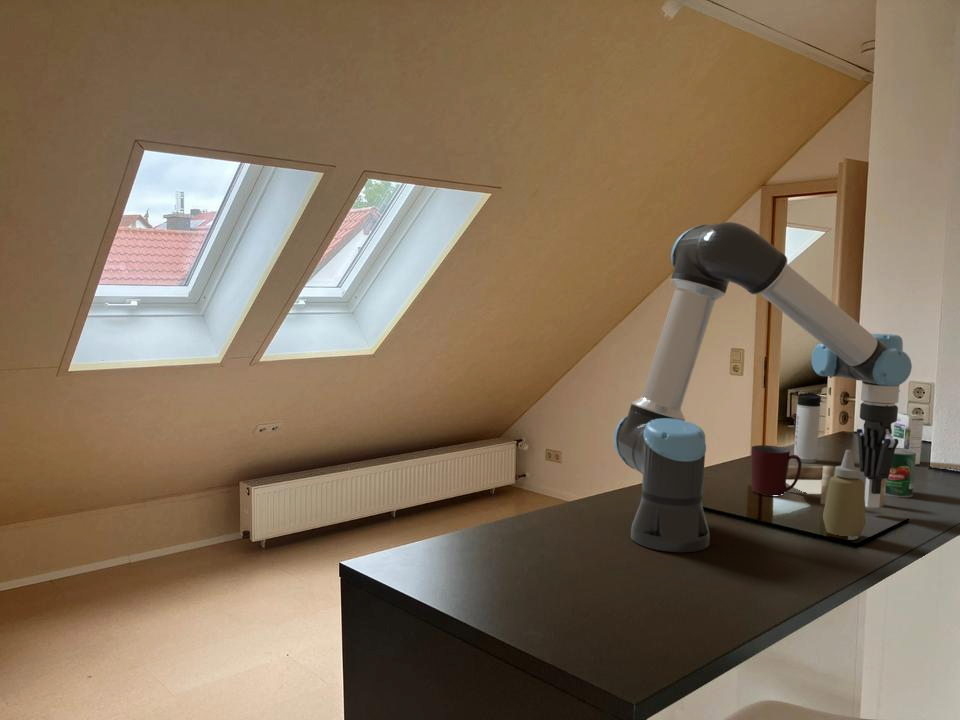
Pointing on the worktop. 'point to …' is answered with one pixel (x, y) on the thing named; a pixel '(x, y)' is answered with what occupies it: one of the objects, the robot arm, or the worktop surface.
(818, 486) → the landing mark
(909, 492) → the canned tomato
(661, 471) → the robot arm
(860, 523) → the squeeze bottle
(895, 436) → the syrup box
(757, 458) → the mug
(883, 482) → the post
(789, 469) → the stopper strip
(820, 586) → the worktop surface
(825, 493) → the post
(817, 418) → the travel mug
